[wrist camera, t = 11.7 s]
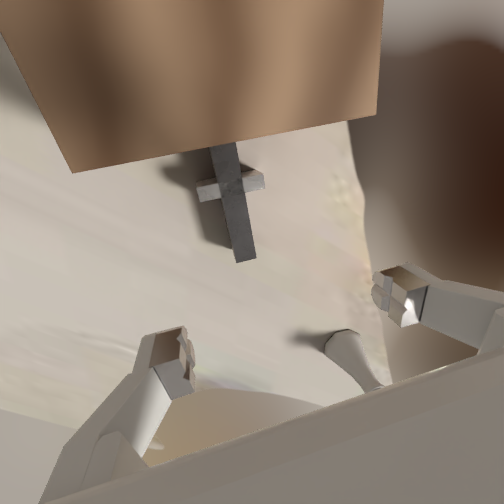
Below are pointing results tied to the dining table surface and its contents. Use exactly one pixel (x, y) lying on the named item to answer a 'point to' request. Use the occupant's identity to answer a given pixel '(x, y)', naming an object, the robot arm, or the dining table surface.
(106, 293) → the dining table surface
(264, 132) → the low table
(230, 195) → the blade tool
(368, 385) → the flask
